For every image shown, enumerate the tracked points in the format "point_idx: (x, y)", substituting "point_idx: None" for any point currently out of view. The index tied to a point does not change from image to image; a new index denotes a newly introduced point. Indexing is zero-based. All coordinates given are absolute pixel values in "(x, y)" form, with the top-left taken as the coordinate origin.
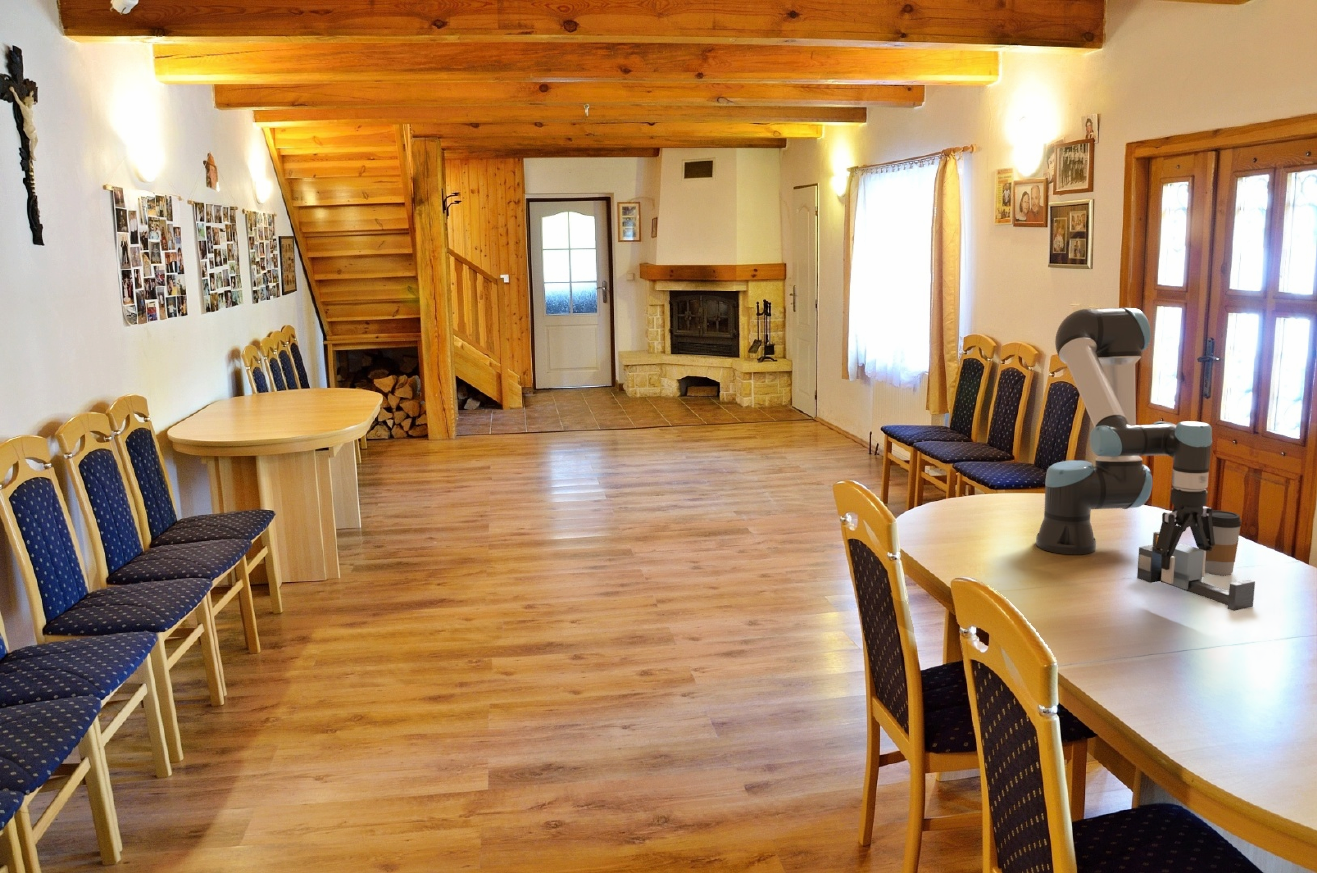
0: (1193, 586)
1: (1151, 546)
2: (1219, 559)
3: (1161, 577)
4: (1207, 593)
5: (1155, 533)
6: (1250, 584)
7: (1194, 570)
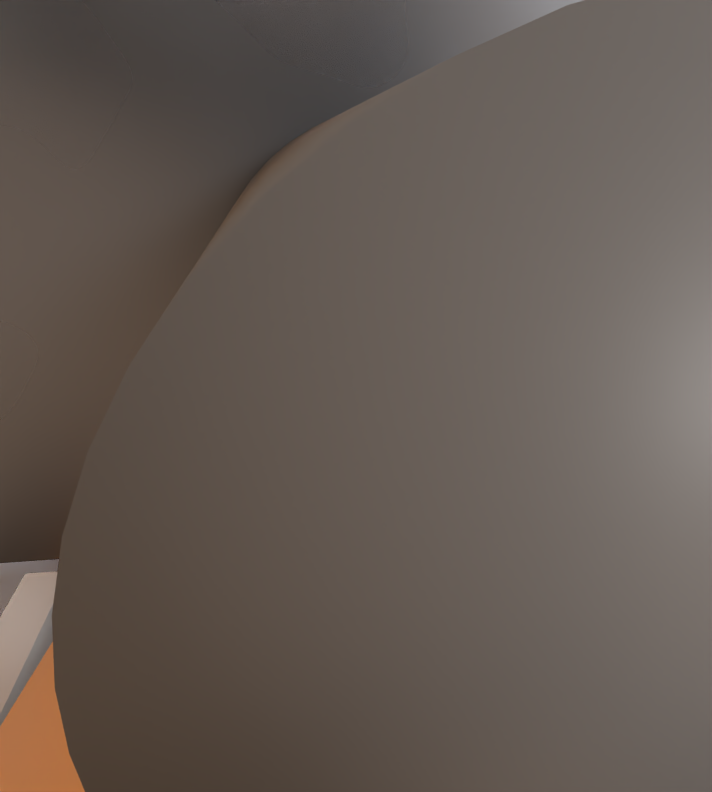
0: None
1: (248, 125)
2: None
3: (9, 604)
4: None
5: (291, 551)
6: None
7: None
